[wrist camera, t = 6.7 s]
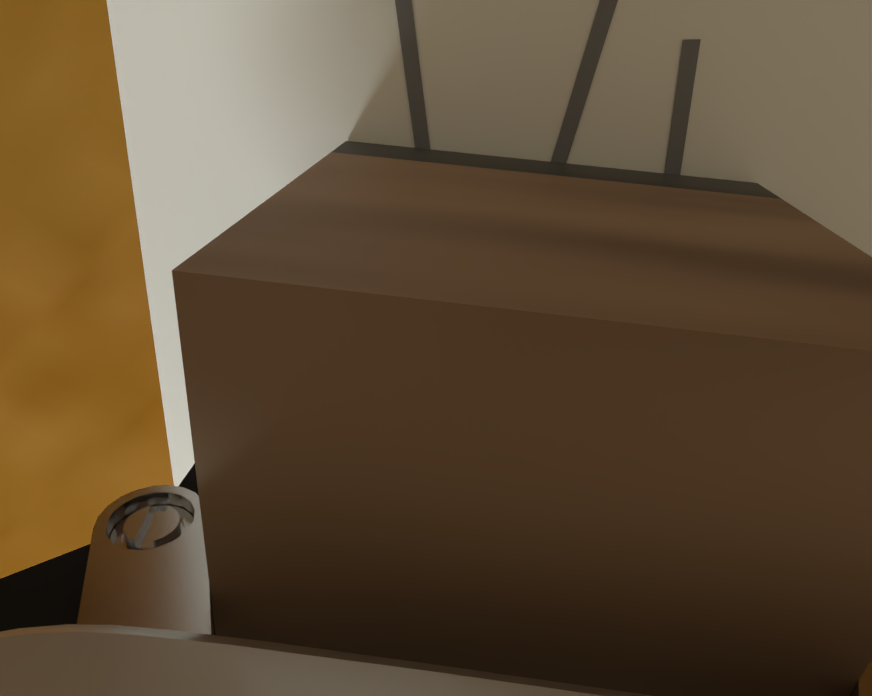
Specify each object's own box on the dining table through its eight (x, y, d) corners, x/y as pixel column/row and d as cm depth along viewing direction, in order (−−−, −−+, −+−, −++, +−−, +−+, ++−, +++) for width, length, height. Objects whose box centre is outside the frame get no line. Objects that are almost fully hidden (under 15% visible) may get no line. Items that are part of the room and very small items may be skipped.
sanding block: (345, 141, 10) (170, 270, 5) (756, 183, 10) (1047, 370, 5) (340, 550, 14) (242, 860, 9) (629, 590, 14) (702, 935, 9)
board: (65, -823, 7) (-38, -1019, 6) (1387, -787, 6) (1618, -1000, 5) (210, 519, 16) (184, 563, 15) (760, 593, 16) (784, 647, 14)
